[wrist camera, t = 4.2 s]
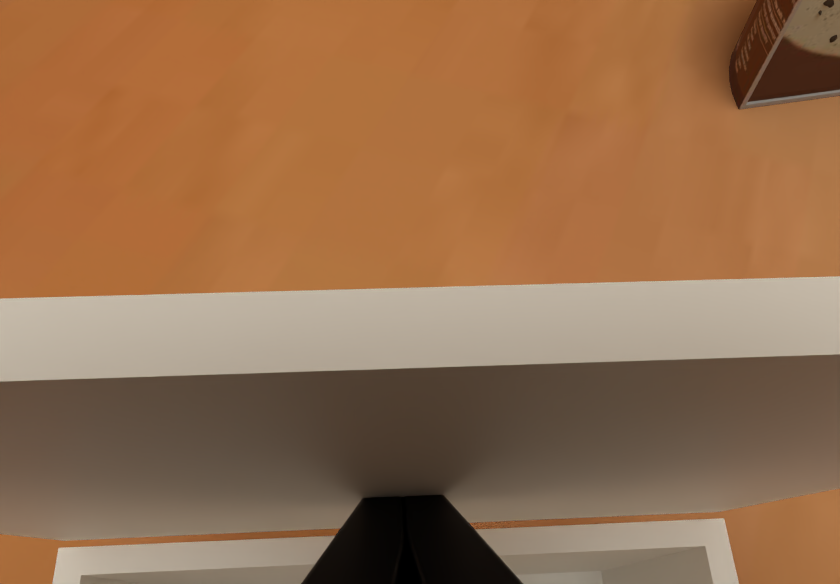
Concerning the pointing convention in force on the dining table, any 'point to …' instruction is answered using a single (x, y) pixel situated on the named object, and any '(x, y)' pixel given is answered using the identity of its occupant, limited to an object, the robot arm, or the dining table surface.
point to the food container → (787, 53)
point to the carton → (518, 547)
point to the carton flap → (414, 404)
